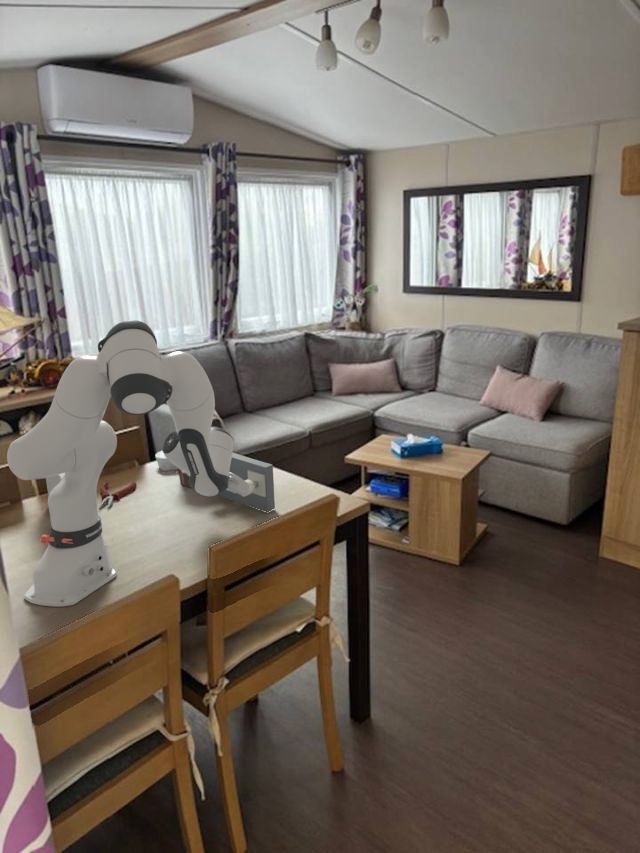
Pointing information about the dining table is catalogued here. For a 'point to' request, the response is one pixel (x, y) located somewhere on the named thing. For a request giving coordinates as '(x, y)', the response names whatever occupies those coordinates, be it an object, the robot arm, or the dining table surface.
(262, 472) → the mount
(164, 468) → the ramekin
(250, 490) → the knob right
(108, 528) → the dining table surface
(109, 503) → the pliers
